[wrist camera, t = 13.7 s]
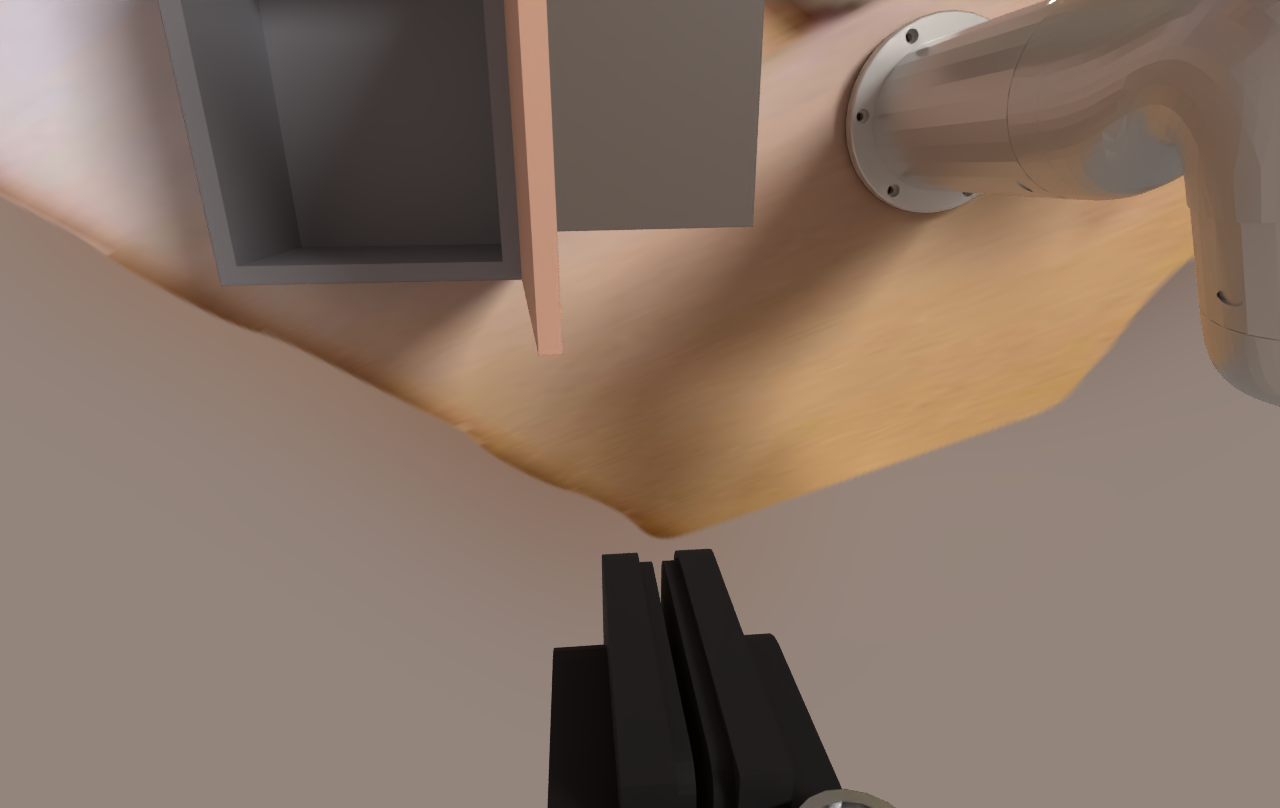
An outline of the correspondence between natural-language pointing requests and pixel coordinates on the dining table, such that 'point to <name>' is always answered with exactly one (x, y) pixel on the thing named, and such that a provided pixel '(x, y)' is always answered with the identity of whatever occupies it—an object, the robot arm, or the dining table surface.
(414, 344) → the dining table surface
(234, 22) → the carton
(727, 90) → the lid
